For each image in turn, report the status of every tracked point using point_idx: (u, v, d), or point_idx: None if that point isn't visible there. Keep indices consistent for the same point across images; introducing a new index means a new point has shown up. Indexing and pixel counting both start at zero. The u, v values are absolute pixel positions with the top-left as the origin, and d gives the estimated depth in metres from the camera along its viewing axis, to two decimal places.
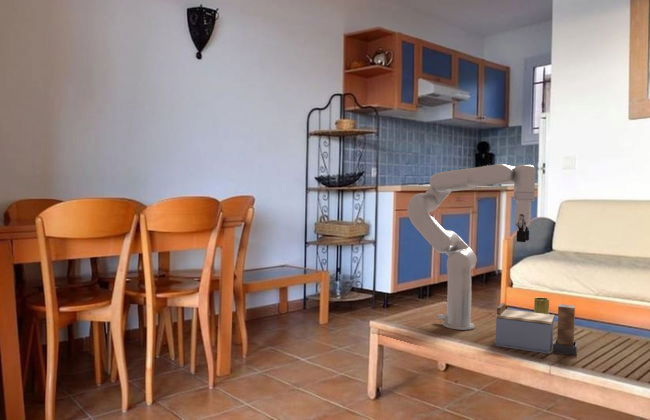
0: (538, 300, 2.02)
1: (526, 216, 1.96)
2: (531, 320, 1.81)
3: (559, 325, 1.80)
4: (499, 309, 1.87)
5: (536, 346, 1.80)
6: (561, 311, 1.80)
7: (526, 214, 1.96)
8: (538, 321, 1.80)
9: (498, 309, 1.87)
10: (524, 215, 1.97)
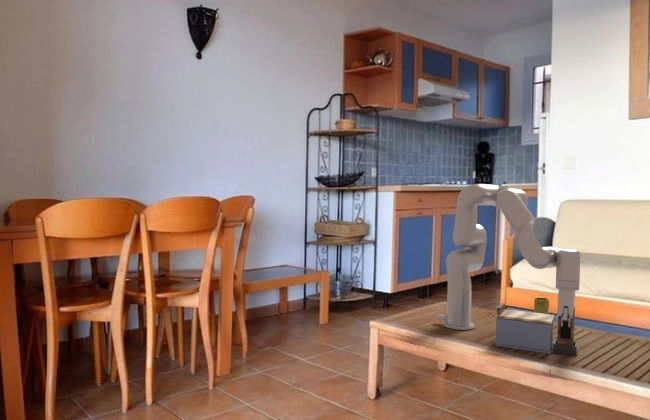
0: (538, 300, 2.02)
1: (571, 308, 1.76)
2: (531, 320, 1.81)
3: (559, 325, 1.80)
4: (499, 309, 1.87)
5: (536, 346, 1.80)
6: None
7: (571, 306, 1.76)
8: (538, 321, 1.80)
9: (498, 309, 1.87)
10: (569, 307, 1.76)
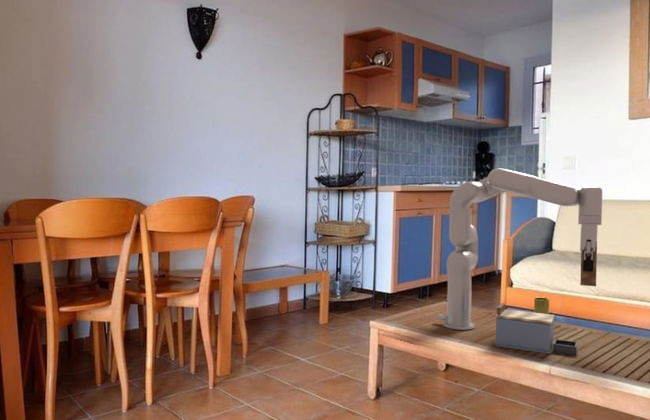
0: (538, 300, 2.02)
1: (594, 241, 1.84)
2: (531, 320, 1.81)
3: (582, 259, 1.88)
4: (499, 309, 1.87)
5: (536, 346, 1.80)
6: None
7: (594, 239, 1.84)
8: (538, 321, 1.80)
9: (498, 309, 1.87)
10: (591, 240, 1.84)
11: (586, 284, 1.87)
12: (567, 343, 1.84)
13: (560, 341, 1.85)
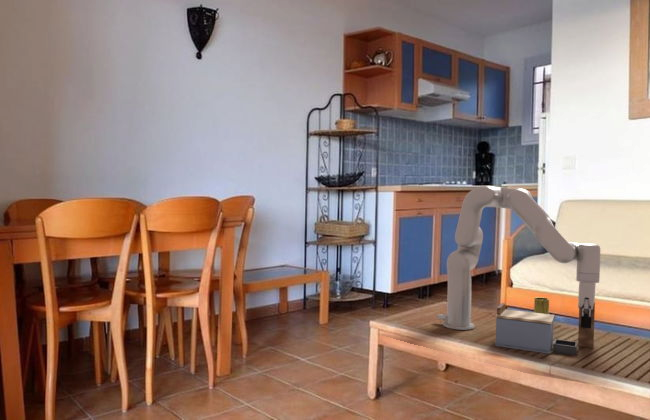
0: (538, 300, 2.02)
1: (592, 300, 1.85)
2: (531, 320, 1.81)
3: (580, 320, 1.88)
4: (499, 309, 1.87)
5: (536, 346, 1.80)
6: None
7: (592, 298, 1.85)
8: (538, 321, 1.80)
9: (498, 309, 1.87)
10: (589, 298, 1.85)
11: (583, 345, 1.88)
12: (567, 343, 1.84)
13: (560, 341, 1.85)
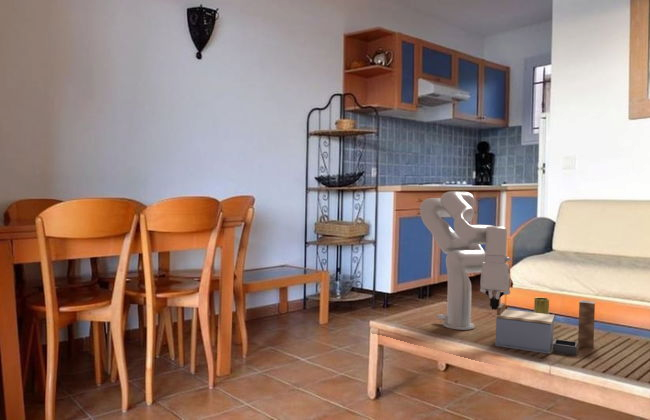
0: (538, 300, 2.02)
1: None
2: (531, 320, 1.81)
3: (580, 320, 1.88)
4: (499, 309, 1.87)
5: (536, 346, 1.80)
6: (582, 306, 1.88)
7: (481, 276, 1.93)
8: (538, 321, 1.80)
9: (498, 309, 1.87)
10: None
11: (583, 345, 1.88)
12: (567, 343, 1.84)
13: (560, 341, 1.85)
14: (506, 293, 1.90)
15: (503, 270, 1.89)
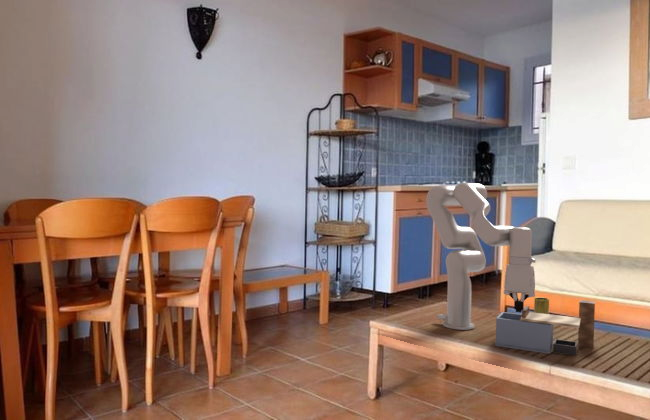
0: (538, 300, 2.02)
1: None
2: (558, 323, 1.77)
3: None
4: (524, 312, 1.83)
5: (536, 346, 1.80)
6: (582, 306, 1.88)
7: (505, 278, 1.89)
8: (565, 324, 1.76)
9: (523, 312, 1.83)
10: None
11: (583, 345, 1.88)
12: (567, 343, 1.84)
13: (560, 341, 1.85)
14: (531, 295, 1.86)
15: (527, 272, 1.85)
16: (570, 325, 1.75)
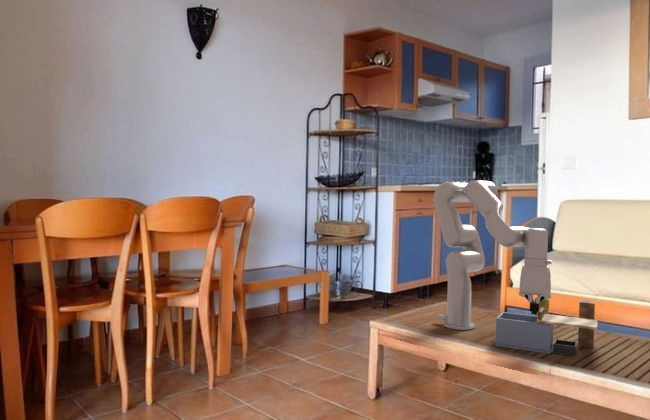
0: None
1: (520, 282, 1.87)
2: (575, 325, 1.74)
3: None
4: (540, 314, 1.80)
5: (536, 346, 1.80)
6: (582, 306, 1.88)
7: (520, 280, 1.87)
8: (582, 326, 1.73)
9: (539, 314, 1.81)
10: (520, 281, 1.87)
11: (583, 345, 1.88)
12: (567, 343, 1.84)
13: (560, 341, 1.85)
14: (547, 297, 1.83)
15: (544, 273, 1.82)
16: (588, 327, 1.72)
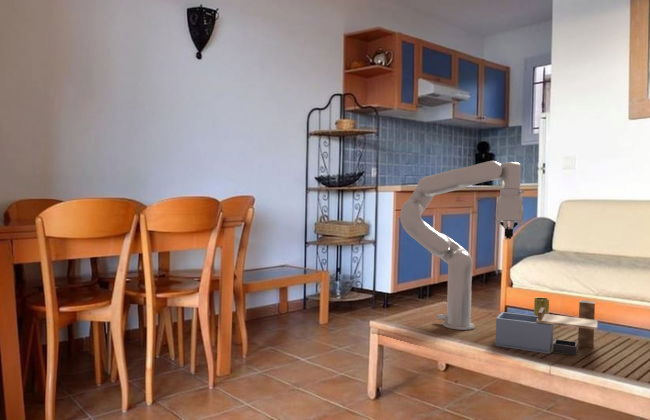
0: (538, 300, 2.02)
1: (496, 211, 2.10)
2: (575, 325, 1.74)
3: None
4: (540, 314, 1.80)
5: (536, 346, 1.80)
6: (582, 306, 1.88)
7: (496, 209, 2.10)
8: (583, 326, 1.73)
9: (539, 314, 1.81)
10: (496, 210, 2.10)
11: (583, 345, 1.88)
12: (567, 343, 1.84)
13: (560, 341, 1.85)
14: (520, 223, 2.06)
15: (517, 201, 2.05)
16: (588, 327, 1.72)
